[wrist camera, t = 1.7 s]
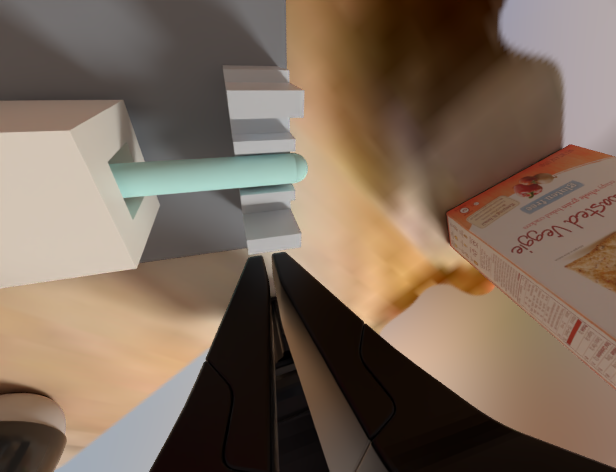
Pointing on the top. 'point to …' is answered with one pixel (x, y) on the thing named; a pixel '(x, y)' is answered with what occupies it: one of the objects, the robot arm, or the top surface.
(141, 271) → the top surface
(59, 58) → the board
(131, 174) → the pale teal rod
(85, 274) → the sleeve
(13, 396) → the pump dispenser
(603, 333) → the cracker box
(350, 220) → the top surface
